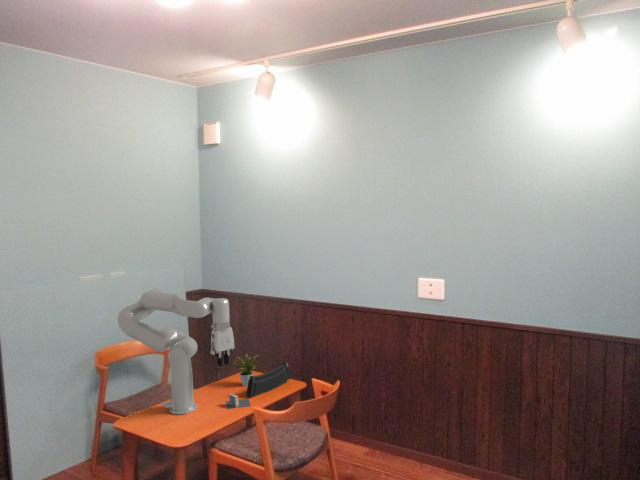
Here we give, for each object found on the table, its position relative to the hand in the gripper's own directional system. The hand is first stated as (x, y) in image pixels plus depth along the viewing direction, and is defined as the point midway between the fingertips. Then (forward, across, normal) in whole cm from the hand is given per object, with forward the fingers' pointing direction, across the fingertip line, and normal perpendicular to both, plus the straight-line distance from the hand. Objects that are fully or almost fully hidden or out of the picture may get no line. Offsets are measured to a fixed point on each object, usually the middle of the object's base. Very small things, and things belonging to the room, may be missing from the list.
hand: (223, 364), depth 226 cm
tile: (+21, +5, 0) cm, 21 cm away
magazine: (+22, +30, +4) cm, 38 cm away
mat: (+21, +8, +1) cm, 23 cm away
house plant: (+21, +27, +19) cm, 40 cm away
